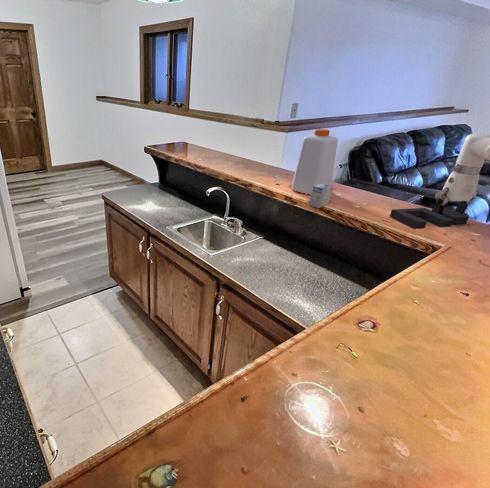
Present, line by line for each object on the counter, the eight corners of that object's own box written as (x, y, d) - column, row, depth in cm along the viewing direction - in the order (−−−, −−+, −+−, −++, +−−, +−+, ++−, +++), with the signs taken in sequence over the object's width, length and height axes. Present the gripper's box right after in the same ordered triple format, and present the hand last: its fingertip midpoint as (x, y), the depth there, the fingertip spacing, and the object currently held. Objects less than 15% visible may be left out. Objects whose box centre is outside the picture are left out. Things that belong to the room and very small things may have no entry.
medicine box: (318, 201, 152) (322, 182, 148) (328, 204, 149) (332, 185, 145) (308, 205, 148) (313, 185, 144) (318, 208, 144) (323, 188, 141)
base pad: (421, 214, 139) (424, 207, 138) (450, 227, 128) (453, 220, 127) (389, 216, 137) (391, 209, 136) (415, 229, 126) (418, 222, 124)
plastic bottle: (333, 191, 166) (347, 130, 153) (317, 198, 157) (331, 133, 144) (303, 184, 176) (314, 126, 163) (287, 190, 167) (298, 129, 154)
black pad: (442, 214, 140) (445, 207, 139) (465, 224, 131) (469, 216, 130) (429, 215, 139) (432, 208, 138) (452, 225, 130) (455, 217, 129)
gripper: (455, 173, 122) (437, 218, 130) (496, 171, 125) (476, 216, 132) (437, 167, 128) (420, 211, 136) (476, 166, 131) (458, 208, 139)
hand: (448, 213), depth 134 cm, fingers open, 9 cm apart
